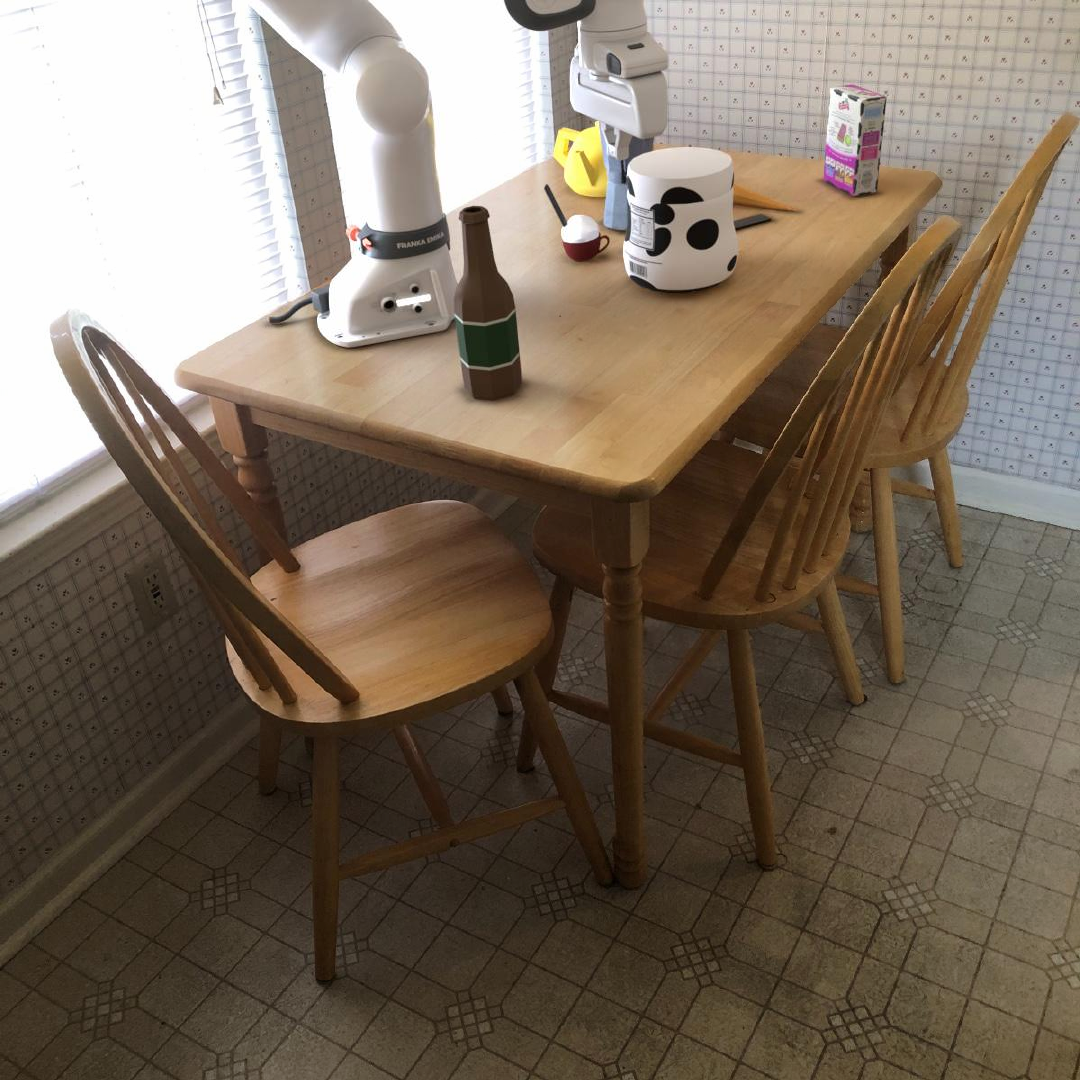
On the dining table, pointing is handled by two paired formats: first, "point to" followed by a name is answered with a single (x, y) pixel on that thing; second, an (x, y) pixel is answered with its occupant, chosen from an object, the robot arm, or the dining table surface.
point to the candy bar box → (854, 139)
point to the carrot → (755, 199)
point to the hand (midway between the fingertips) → (618, 157)
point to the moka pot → (620, 181)
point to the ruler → (751, 221)
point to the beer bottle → (485, 315)
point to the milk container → (680, 220)
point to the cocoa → (578, 233)
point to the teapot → (583, 160)
